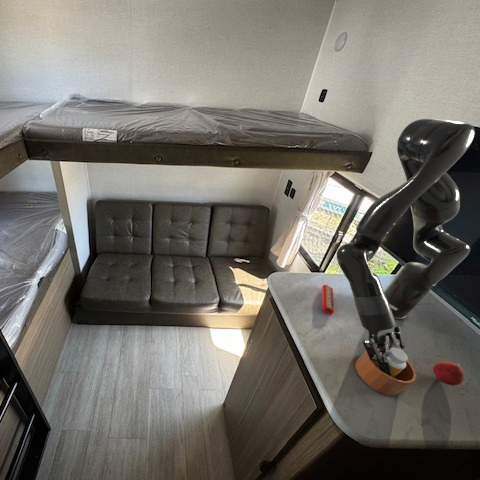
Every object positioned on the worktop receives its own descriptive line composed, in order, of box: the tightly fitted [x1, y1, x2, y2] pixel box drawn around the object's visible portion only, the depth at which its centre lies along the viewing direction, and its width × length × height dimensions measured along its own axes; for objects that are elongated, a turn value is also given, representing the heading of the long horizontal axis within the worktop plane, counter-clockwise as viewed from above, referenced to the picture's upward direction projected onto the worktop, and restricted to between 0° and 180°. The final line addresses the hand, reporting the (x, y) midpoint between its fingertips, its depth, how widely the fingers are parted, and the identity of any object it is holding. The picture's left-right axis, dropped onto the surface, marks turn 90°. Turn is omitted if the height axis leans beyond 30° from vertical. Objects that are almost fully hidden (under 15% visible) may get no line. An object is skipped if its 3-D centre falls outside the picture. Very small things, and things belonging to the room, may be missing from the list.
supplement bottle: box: [372, 347, 409, 378], centre depth 71 cm, size 6×6×10 cm
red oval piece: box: [432, 361, 465, 386], centre depth 72 cm, size 6×6×8 cm
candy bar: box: [321, 284, 335, 316], centre depth 97 cm, size 16×4×3 cm, turn 152°
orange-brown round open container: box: [354, 346, 417, 396], centre depth 72 cm, size 11×11×7 cm
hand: (393, 370), depth 70 cm, fingers closed on supplement bottle, 5 cm apart
